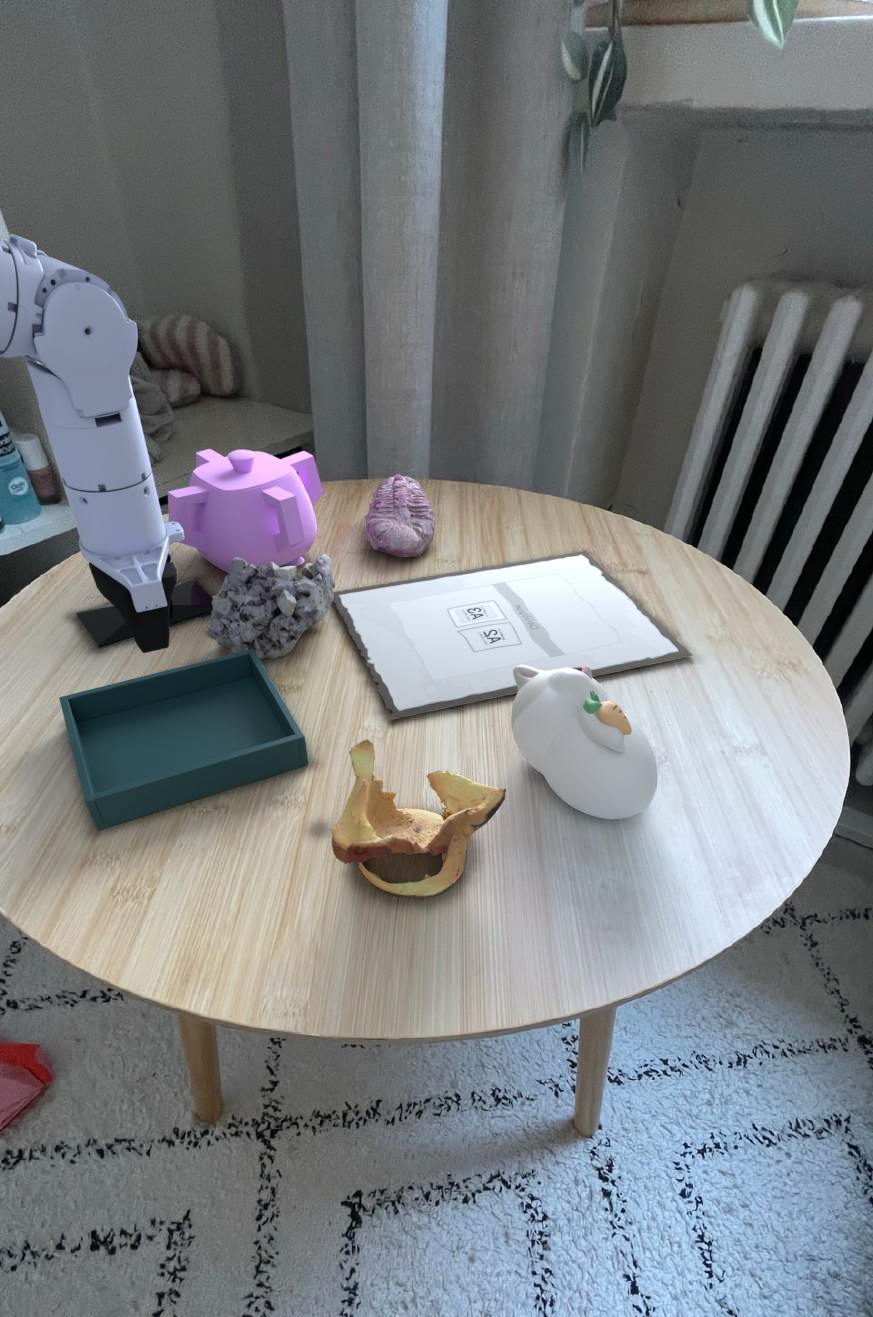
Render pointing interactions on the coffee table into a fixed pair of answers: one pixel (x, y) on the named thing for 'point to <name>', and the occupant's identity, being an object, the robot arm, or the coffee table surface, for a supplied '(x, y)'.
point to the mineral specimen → (270, 605)
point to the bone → (411, 824)
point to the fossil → (400, 518)
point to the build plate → (112, 628)
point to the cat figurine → (582, 742)
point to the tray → (179, 736)
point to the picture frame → (497, 630)
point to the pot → (249, 507)
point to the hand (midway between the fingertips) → (154, 645)
